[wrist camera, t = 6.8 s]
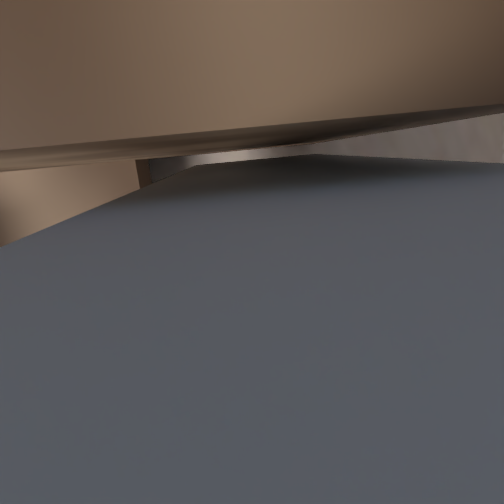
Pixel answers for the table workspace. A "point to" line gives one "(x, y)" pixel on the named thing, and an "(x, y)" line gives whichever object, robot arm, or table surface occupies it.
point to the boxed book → (262, 339)
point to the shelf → (219, 85)
